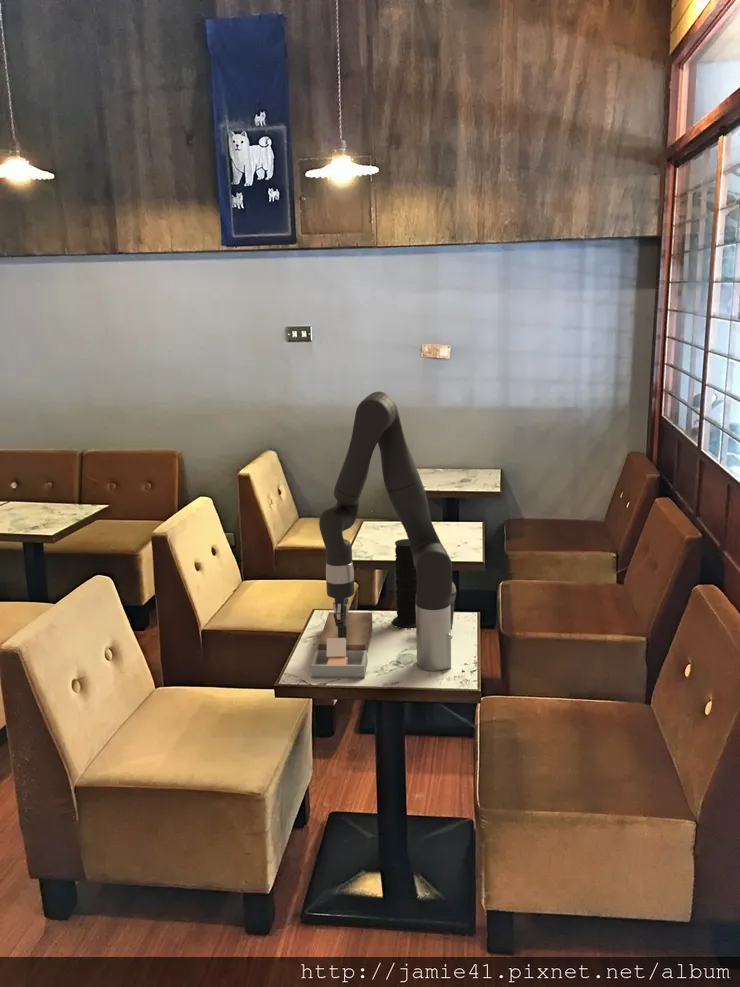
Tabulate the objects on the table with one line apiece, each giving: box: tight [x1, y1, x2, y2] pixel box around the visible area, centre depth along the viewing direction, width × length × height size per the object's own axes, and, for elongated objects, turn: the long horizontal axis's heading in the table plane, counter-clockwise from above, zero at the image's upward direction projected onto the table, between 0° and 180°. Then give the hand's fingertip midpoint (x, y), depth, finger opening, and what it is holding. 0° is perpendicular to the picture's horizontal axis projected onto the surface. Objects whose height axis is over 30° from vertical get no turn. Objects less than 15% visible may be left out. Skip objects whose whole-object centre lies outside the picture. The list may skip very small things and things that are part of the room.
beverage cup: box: [450, 581, 457, 631], centre depth 241 cm, size 7×7×20 cm
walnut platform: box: [317, 611, 374, 653], centre depth 234 cm, size 13×23×5 cm, turn 175°
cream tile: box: [327, 638, 346, 659], centre depth 221 cm, size 5×5×2 cm
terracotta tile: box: [327, 657, 348, 665], centre depth 217 cm, size 5×5×2 cm
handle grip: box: [391, 538, 417, 630], centre depth 246 cm, size 10×26×10 cm
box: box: [310, 649, 368, 679], centre depth 218 cm, size 14×10×4 cm
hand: (342, 637), depth 224 cm, fingers closed
